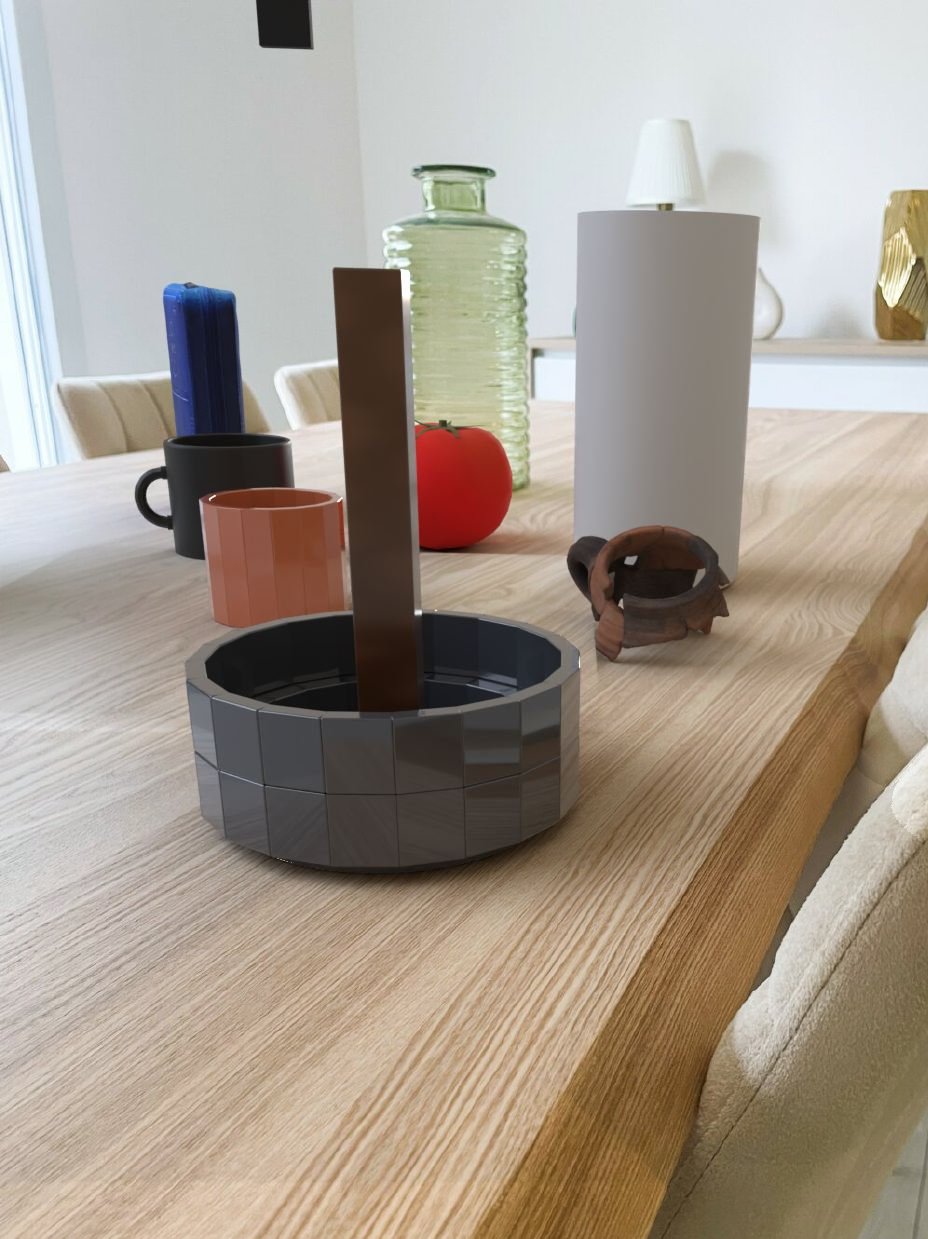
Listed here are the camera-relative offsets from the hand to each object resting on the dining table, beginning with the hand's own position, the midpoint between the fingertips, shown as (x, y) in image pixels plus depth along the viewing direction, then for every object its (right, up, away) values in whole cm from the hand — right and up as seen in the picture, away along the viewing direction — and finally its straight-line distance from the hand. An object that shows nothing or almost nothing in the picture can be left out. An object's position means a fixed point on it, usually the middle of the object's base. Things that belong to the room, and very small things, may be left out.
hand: (255, 23), depth 58 cm
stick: (+8, -37, -7) cm, 38 cm away
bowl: (+8, -37, -6) cm, 39 cm away
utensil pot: (-4, -26, +20) cm, 33 cm away
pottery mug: (+19, -27, +18) cm, 38 cm away
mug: (-14, -18, +38) cm, 44 cm away
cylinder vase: (+20, -20, +35) cm, 45 cm away
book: (-20, -10, +57) cm, 61 cm away
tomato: (+3, -15, +45) cm, 48 cm away
